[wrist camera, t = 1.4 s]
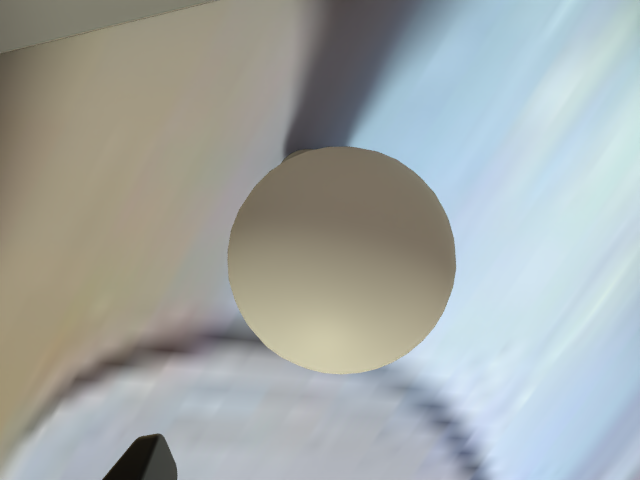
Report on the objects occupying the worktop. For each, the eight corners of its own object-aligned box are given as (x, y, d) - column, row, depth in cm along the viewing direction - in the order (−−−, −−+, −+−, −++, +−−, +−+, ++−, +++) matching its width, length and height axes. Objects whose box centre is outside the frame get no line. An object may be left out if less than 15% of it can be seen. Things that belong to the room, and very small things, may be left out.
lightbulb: (252, 77, 19) (271, 153, 9) (397, 123, 21) (546, 230, 11) (214, 221, 21) (196, 408, 11) (347, 253, 23) (434, 441, 13)
